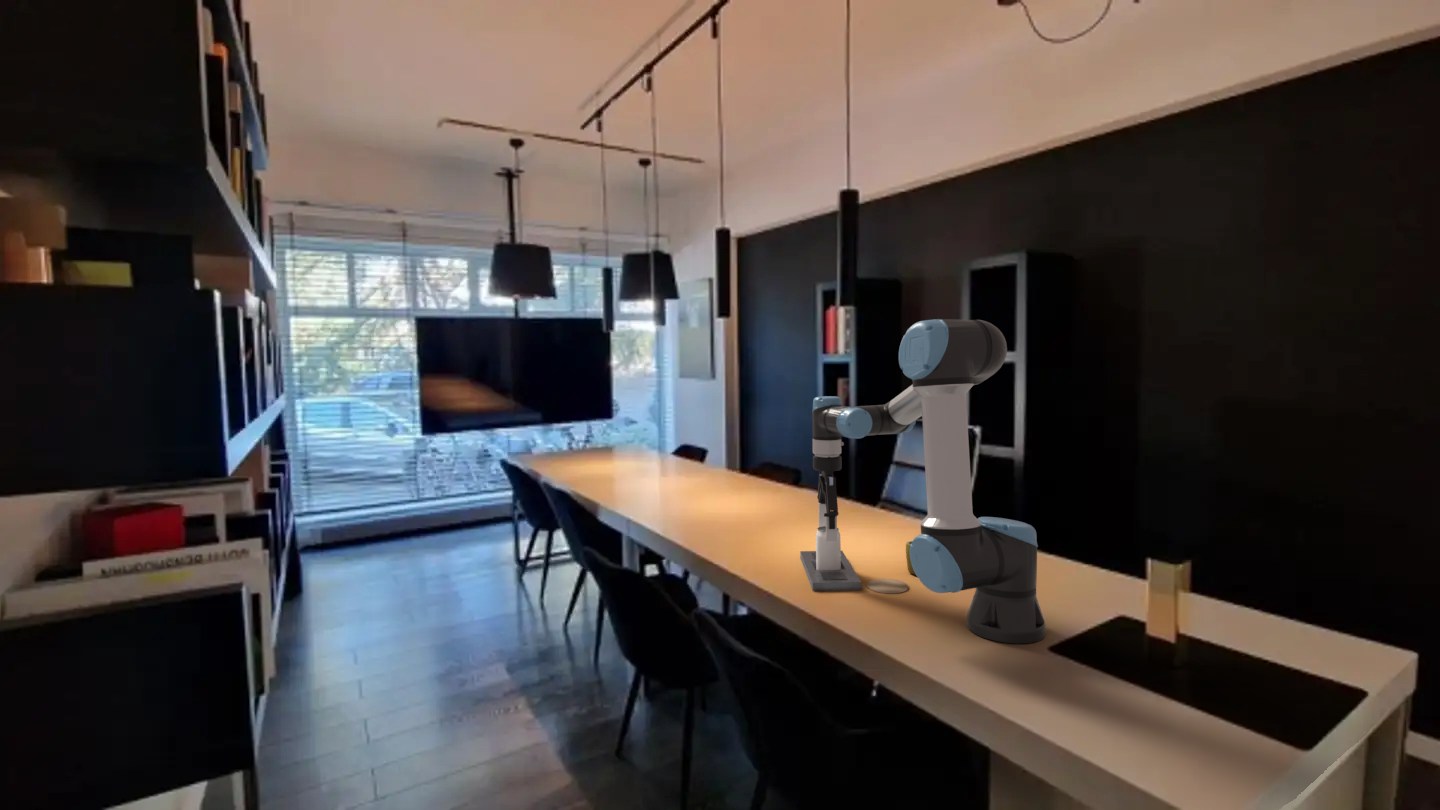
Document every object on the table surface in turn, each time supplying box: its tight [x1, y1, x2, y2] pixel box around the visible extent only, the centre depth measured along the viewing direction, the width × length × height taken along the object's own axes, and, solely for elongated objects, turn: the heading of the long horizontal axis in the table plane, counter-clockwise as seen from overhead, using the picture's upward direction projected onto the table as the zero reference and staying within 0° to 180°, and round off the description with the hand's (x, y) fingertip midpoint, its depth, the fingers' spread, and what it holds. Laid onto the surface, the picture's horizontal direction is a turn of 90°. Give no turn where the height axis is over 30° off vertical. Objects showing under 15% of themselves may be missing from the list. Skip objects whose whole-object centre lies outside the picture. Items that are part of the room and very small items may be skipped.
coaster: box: [867, 578, 910, 595], centre depth 172 cm, size 10×10×1 cm
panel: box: [799, 550, 862, 592], centre depth 184 cm, size 28×12×2 cm, turn 0°
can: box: [815, 526, 842, 570], centre depth 184 cm, size 6×6×12 cm
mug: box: [905, 540, 916, 576], centre depth 183 cm, size 12×10×10 cm
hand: (827, 533), depth 184 cm, fingers open, 13 cm apart
